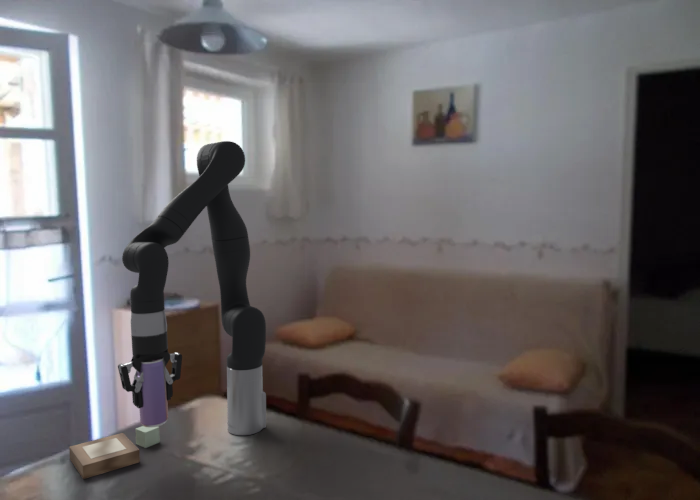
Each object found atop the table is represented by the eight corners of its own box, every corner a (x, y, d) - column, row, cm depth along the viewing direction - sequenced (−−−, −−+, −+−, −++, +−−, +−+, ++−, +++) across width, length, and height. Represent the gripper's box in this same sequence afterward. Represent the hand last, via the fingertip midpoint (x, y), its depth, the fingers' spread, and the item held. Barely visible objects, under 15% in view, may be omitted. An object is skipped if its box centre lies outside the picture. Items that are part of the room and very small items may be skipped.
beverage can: (159, 429, 117) (155, 363, 116) (134, 427, 119) (131, 361, 117) (173, 418, 123) (169, 355, 122) (149, 416, 124) (146, 354, 123)
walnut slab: (123, 444, 132) (122, 432, 131) (139, 462, 123) (139, 449, 122) (69, 459, 124) (69, 446, 124) (83, 479, 115) (82, 465, 115)
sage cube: (149, 438, 135) (149, 423, 135) (159, 442, 133) (159, 427, 133) (135, 444, 132) (135, 428, 132) (145, 448, 130) (145, 432, 130)
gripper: (173, 322, 126) (177, 391, 128) (110, 333, 117) (115, 407, 119) (187, 327, 121) (190, 399, 122) (121, 339, 111) (126, 417, 113)
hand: (153, 402), depth 120 cm, fingers closed on beverage can, 6 cm apart
